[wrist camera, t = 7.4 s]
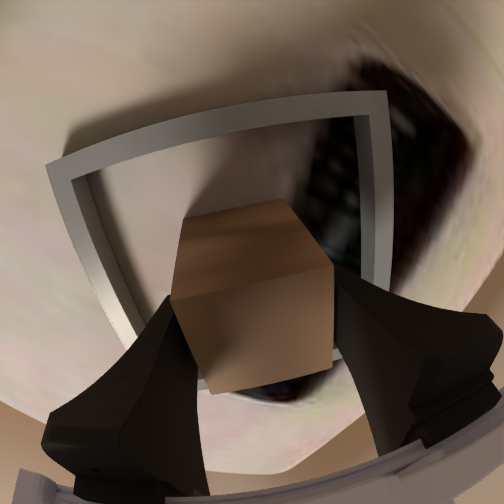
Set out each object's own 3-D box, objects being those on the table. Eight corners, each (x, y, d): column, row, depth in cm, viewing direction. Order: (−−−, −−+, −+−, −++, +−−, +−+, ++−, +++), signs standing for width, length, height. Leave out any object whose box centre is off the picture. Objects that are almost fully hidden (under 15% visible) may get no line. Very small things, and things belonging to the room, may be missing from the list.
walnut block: (206, 298, 15) (211, 394, 10) (183, 218, 13) (169, 301, 8) (292, 280, 15) (332, 367, 10) (282, 197, 13) (333, 264, 8)
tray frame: (158, 377, 17) (156, 395, 16) (61, 158, 11) (45, 164, 9) (372, 329, 18) (381, 344, 16) (368, 91, 11) (386, 90, 10)
